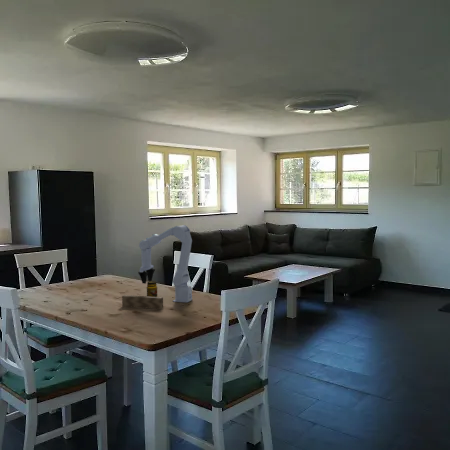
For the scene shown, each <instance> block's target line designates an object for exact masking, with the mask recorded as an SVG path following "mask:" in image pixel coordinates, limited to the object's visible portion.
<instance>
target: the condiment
mask: <svg viewBox="0 0 450 450" xmlns="http://www.w3.org/2000/svg"><path fill="white" fill-rule="evenodd" d="M146 284H147V286H146V296H149V297H158V286H157V285H158V284H157V281H155V280H152V281H146Z"/></svg>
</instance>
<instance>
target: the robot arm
mask: <svg viewBox="0 0 450 450" xmlns="http://www.w3.org/2000/svg"><path fill="white" fill-rule="evenodd" d="M170 236H174V237H175V239H176V238H177V240H179V241H180V242H181V248H180V254H179V261H178V266H177V270H176V271H175V273H174V277H172V283H173V285H174V298H175V299H173V300H172V302H175V303H189V302H190V301H192V300H193V289H192V286H189V285H188V283H189V280H190V276H189V273H190V272H189V271H188V268H189V261H190V254H191V250H192V243H193V239H192V235H191V229H190V228H189V226H188V225H186V224H182V225H176V226H174V227H171V228H169V229H167V230H165V231H163V232H161V233H160V234H157V233H154V234H151V236H150V237H146V238H145V239H141V241H140V242H139V243H138V247H139V249H140V251H141V257H140V258H141V266H140V267H139V270H138V271H137V272H138V273H137V274H138V275H139V278H140V280H141V283H142V284H147V282H149V281H153V276H154V273H155V271H156V269H155V268H154V267H155V266H154V264H152V248H153V247H155V246H156V245H159V244H160V243H161V242H162V240H164V239H166V238H168V237H170Z"/></svg>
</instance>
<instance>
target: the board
mask: <svg viewBox="0 0 450 450" xmlns="http://www.w3.org/2000/svg"><path fill="white" fill-rule="evenodd" d="M121 297H122V298H121V301H122V302H121V303H122V304H121V305H122V307H123V308H124V307H125V308H136V309H137V308H141V309H151V310H152V309H154V310H163V309H164V297H163V296H162V297H161V296H157V297H149V296H147V295H146V296H144V295H132V294H131V295H129V294H123V295H121Z"/></svg>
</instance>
